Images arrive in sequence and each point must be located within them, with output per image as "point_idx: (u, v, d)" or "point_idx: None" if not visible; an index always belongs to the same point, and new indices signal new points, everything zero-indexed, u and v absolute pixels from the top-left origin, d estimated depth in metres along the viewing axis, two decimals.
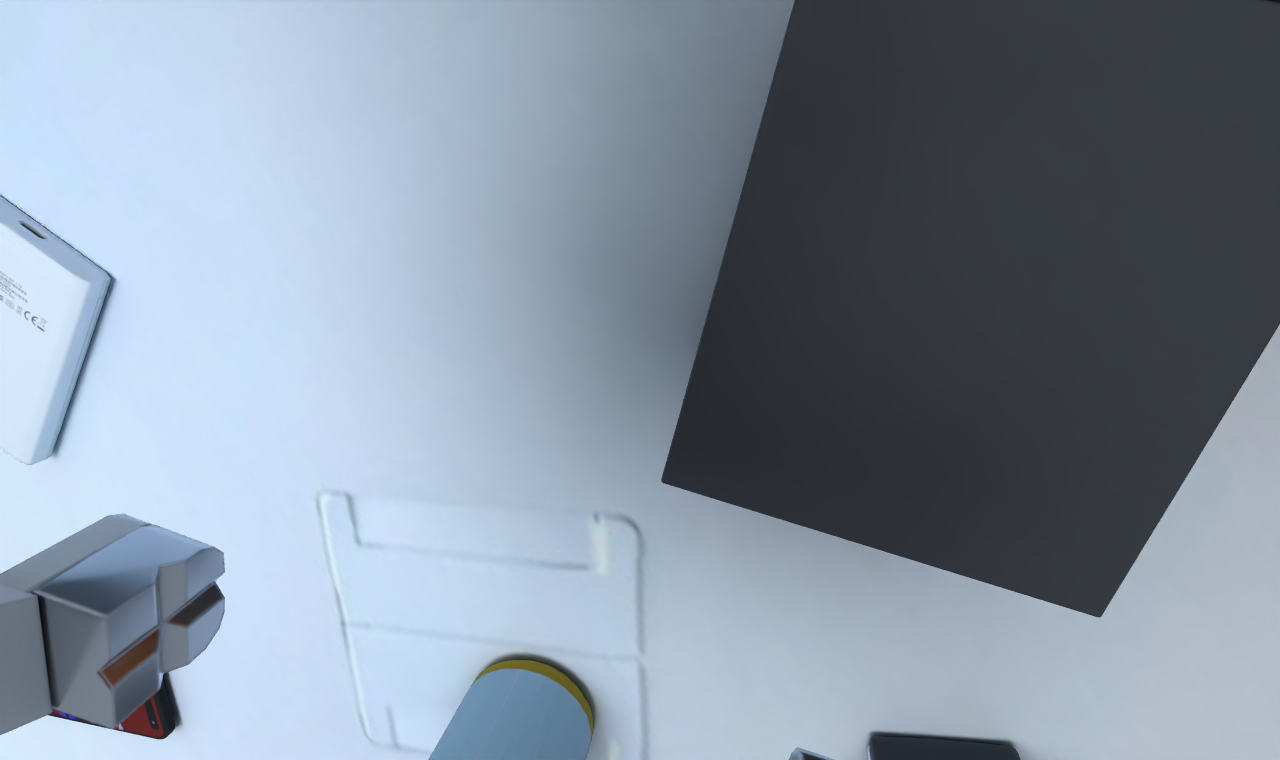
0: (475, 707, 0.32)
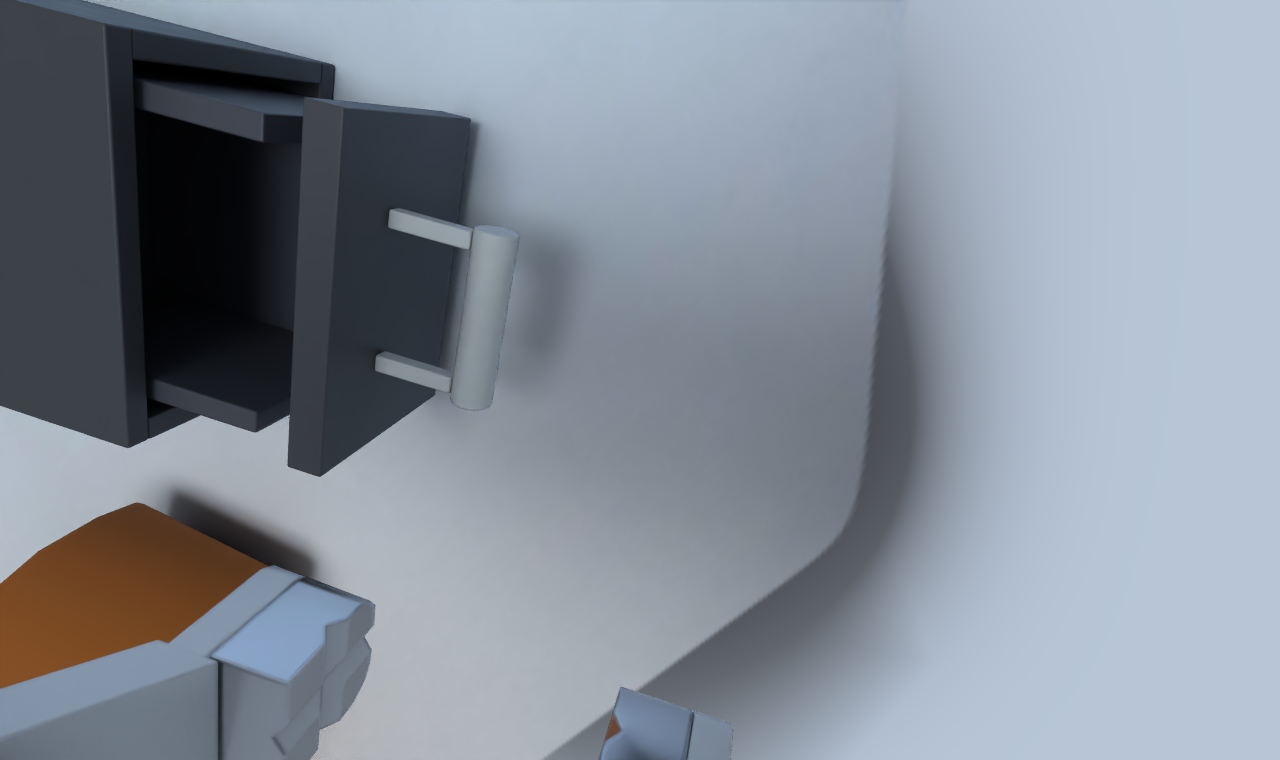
0: None
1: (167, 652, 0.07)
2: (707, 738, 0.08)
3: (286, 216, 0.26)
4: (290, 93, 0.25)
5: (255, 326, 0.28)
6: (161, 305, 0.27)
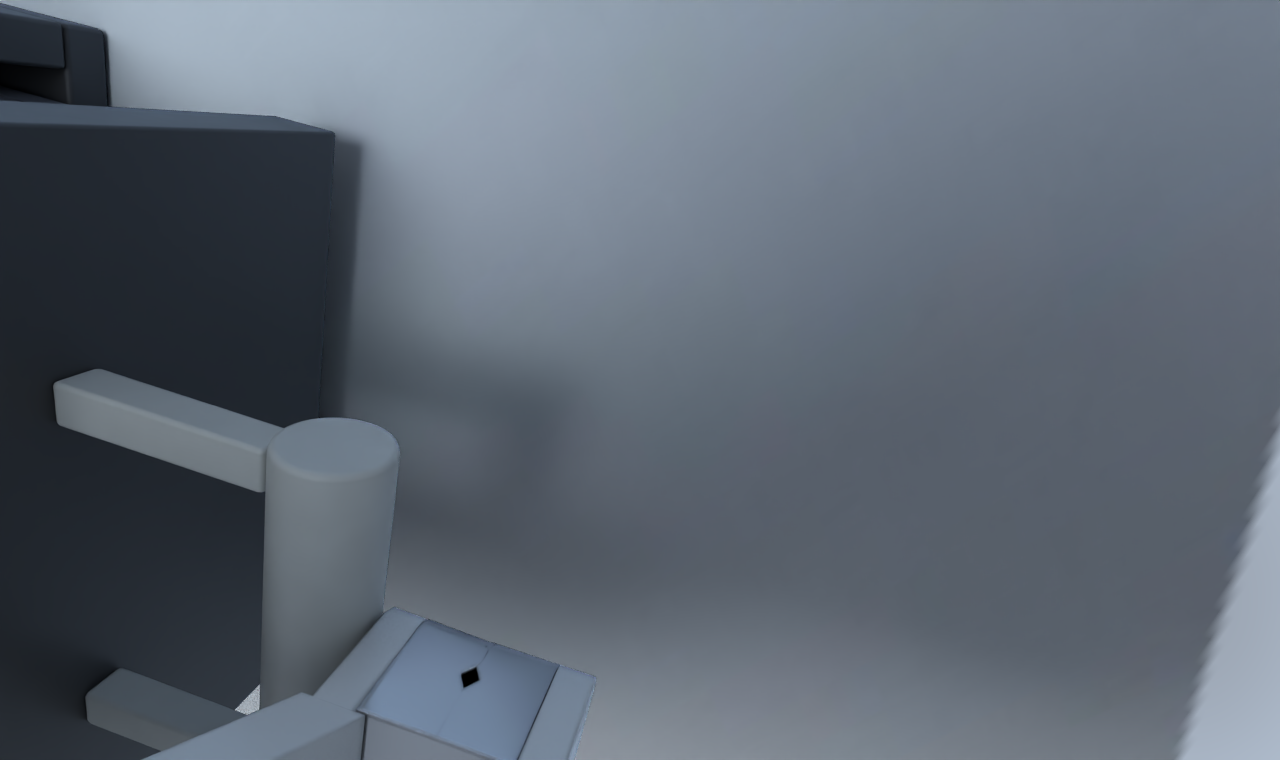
0: None
1: (315, 707, 0.07)
2: (566, 689, 0.08)
3: None
4: None
5: None
6: None
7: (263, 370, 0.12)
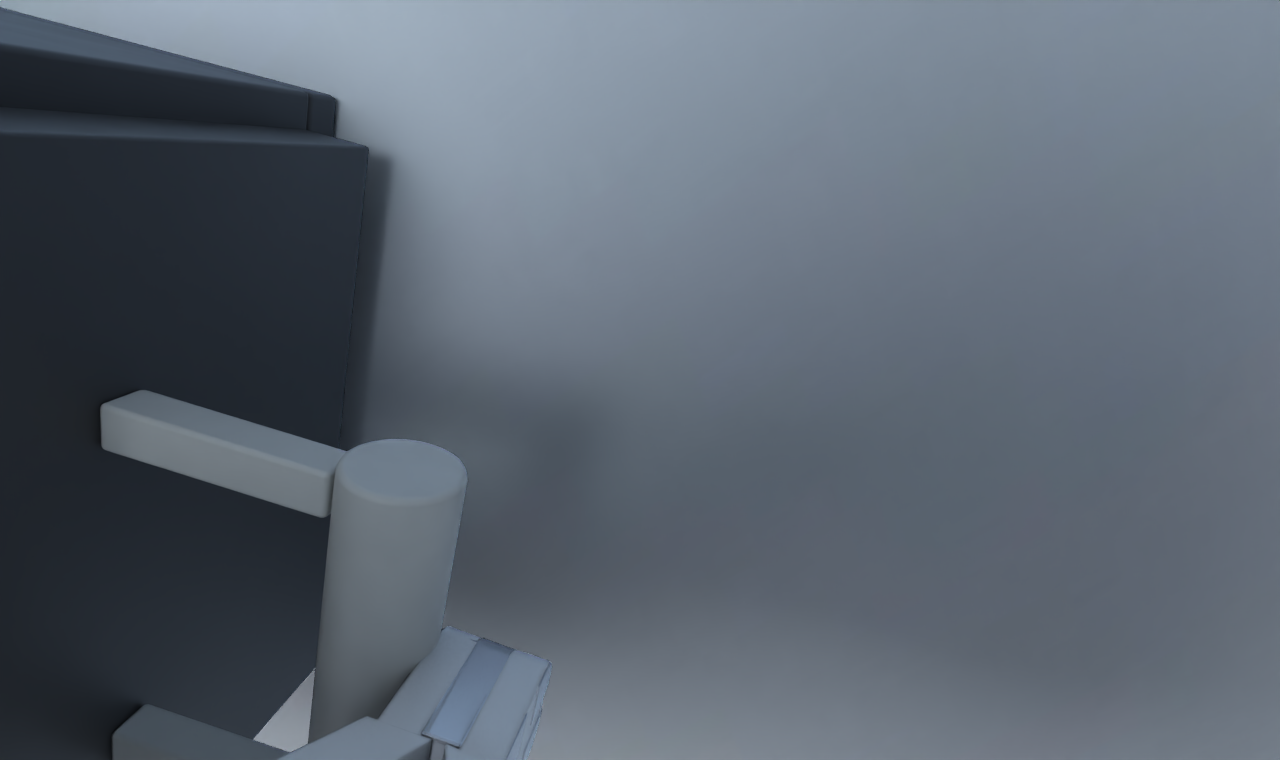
0: None
1: (381, 730, 0.07)
2: (517, 672, 0.08)
3: None
4: None
5: None
6: None
7: (293, 389, 0.11)
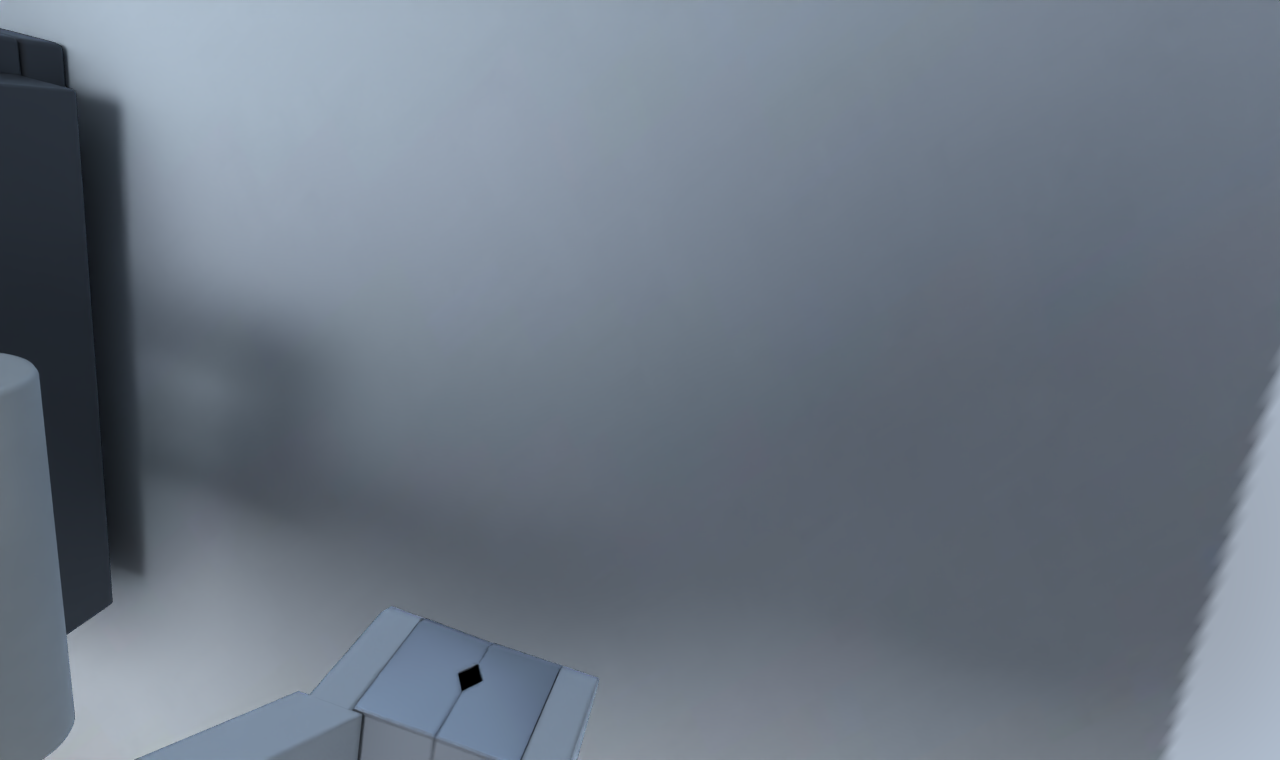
0: None
1: (312, 704, 0.07)
2: (568, 690, 0.08)
3: None
4: None
5: None
6: None
7: (4, 324, 0.12)
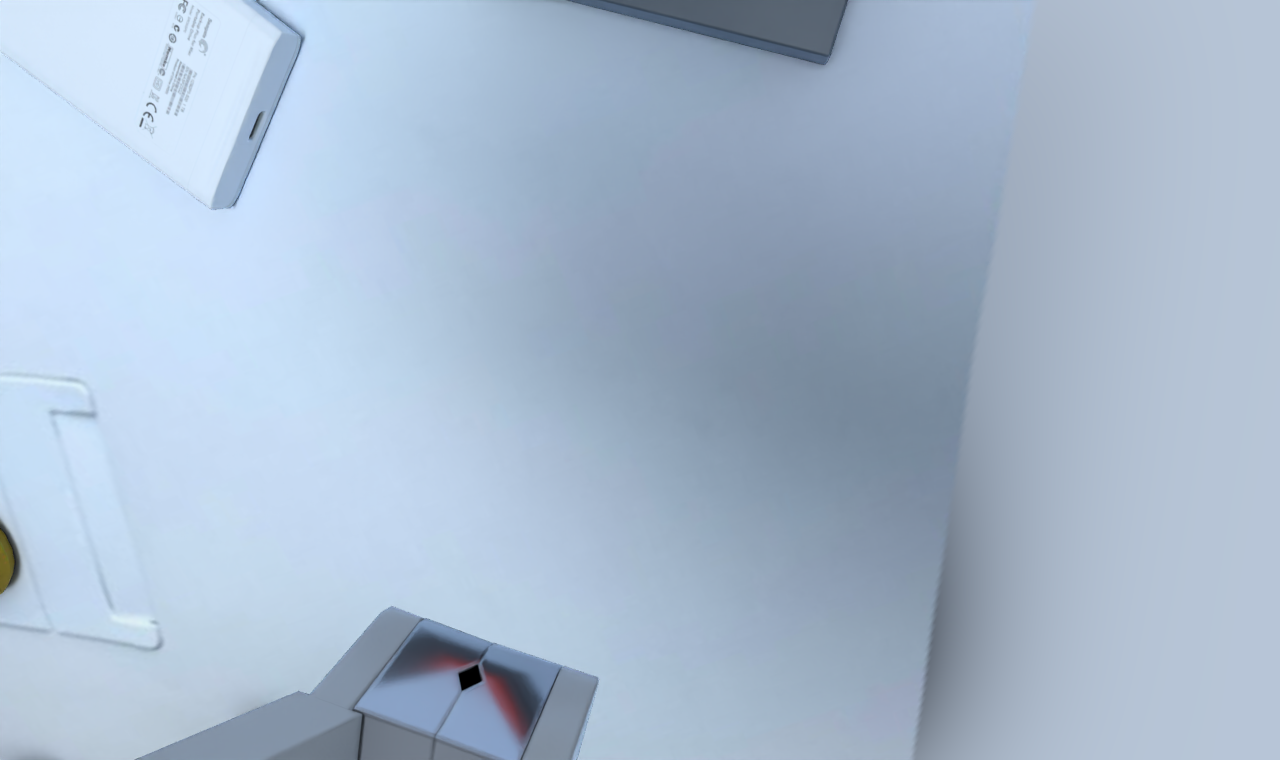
0: None
1: (310, 706, 0.07)
2: (568, 690, 0.08)
3: None
4: None
5: None
6: None
7: None
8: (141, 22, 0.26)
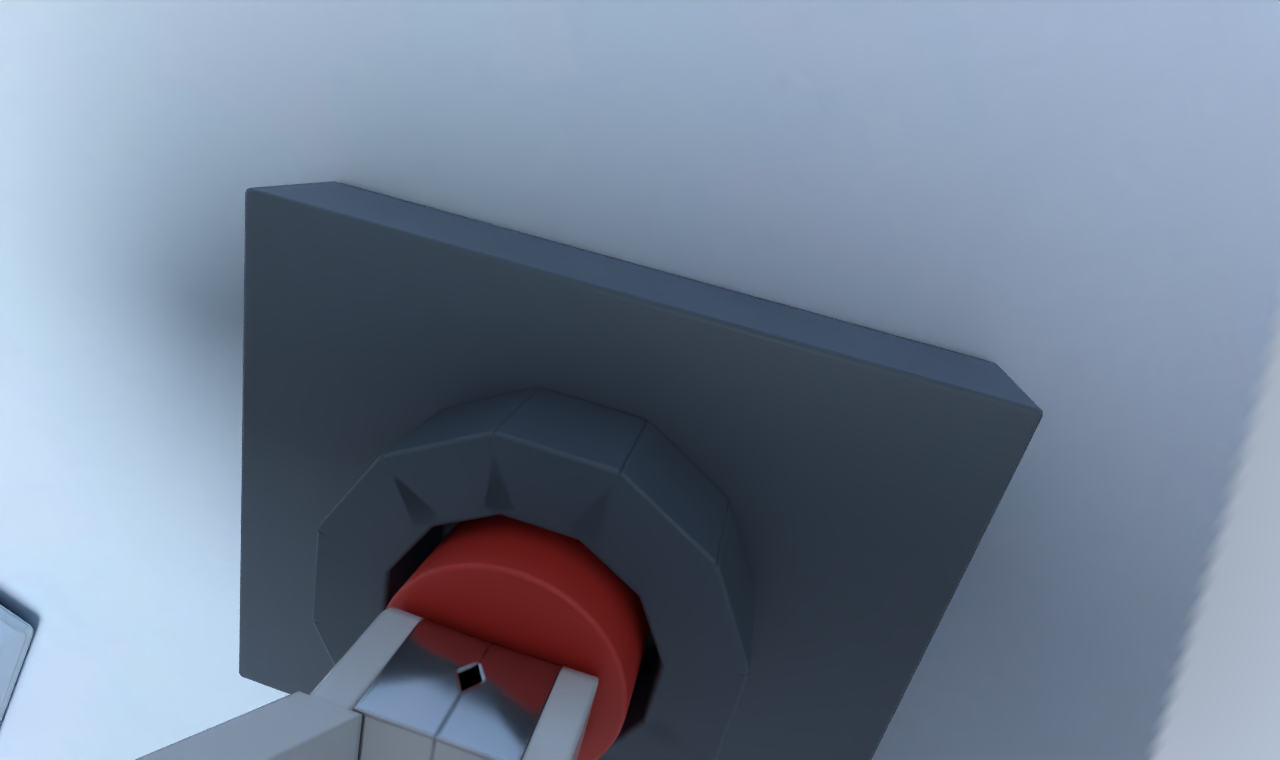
0: None
1: (311, 705, 0.07)
2: (569, 690, 0.08)
3: None
4: None
5: None
6: None
7: None
8: None
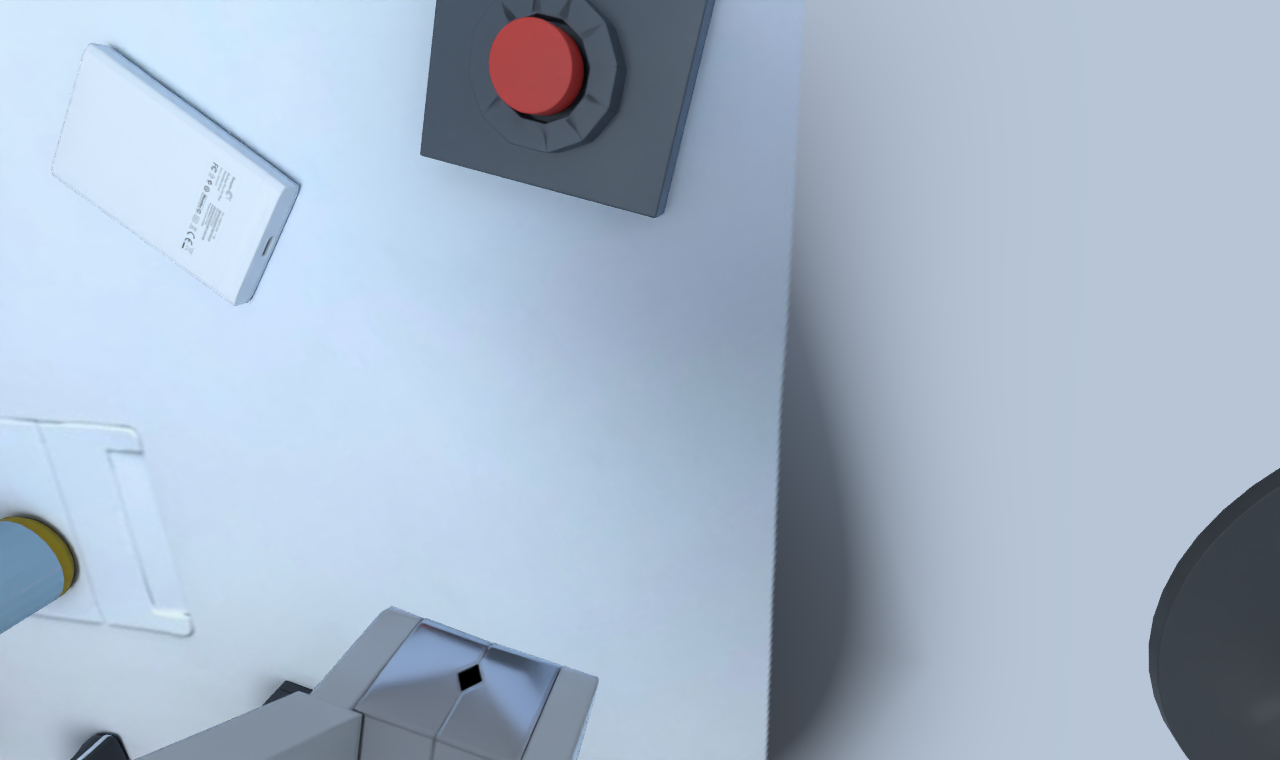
0: (16, 570, 0.46)
1: (310, 705, 0.07)
2: (568, 690, 0.08)
3: None
4: None
5: None
6: None
7: None
8: (183, 177, 0.36)
